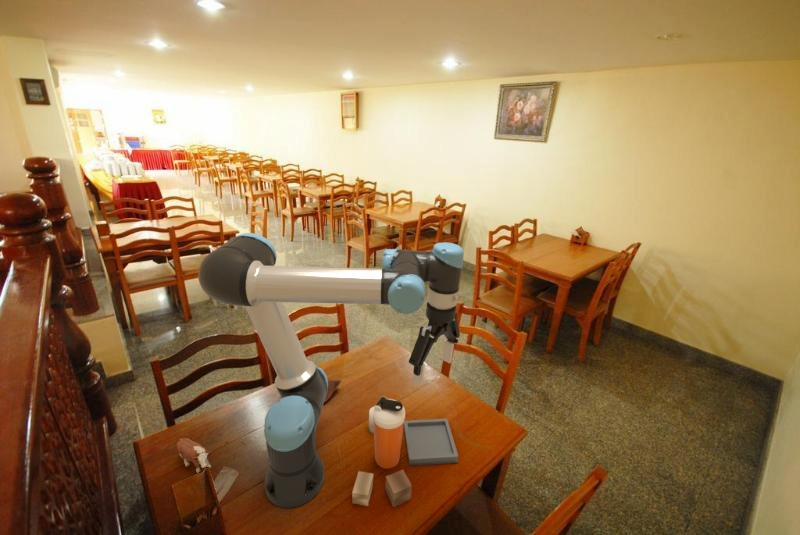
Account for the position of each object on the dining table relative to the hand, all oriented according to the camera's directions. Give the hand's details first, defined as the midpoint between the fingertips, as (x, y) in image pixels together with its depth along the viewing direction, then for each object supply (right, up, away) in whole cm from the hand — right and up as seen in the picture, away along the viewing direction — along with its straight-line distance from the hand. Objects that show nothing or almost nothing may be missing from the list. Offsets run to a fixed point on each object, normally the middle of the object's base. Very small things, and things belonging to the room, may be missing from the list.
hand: (432, 371), depth 97 cm
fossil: (-36, -17, +26) cm, 48 cm away
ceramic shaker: (-17, -22, +14) cm, 31 cm away
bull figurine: (-65, -26, -1) cm, 70 cm away
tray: (0, -25, +9) cm, 26 cm away
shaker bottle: (-13, -26, +4) cm, 30 cm away
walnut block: (-10, -30, -6) cm, 32 cm away
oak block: (-19, -30, -6) cm, 36 cm away
